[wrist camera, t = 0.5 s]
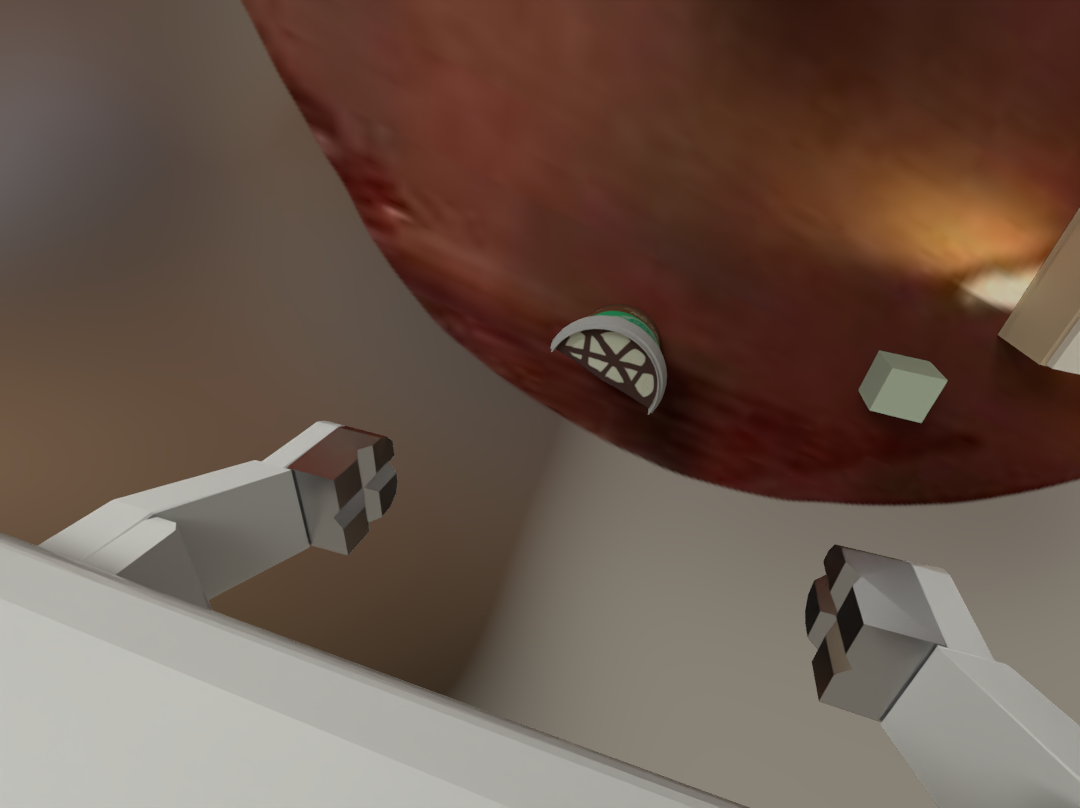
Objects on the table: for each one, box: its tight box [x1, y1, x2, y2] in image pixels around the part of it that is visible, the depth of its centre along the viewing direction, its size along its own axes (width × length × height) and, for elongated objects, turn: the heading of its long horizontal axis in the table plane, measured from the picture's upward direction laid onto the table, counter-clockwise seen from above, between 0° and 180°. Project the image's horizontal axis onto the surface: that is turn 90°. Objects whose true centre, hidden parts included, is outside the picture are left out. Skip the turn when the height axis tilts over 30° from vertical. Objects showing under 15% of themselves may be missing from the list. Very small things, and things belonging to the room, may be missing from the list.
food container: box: [551, 304, 667, 415], centre depth 51 cm, size 12×6×10 cm, turn 62°
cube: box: [858, 350, 948, 423], centre depth 48 cm, size 4×4×4 cm
